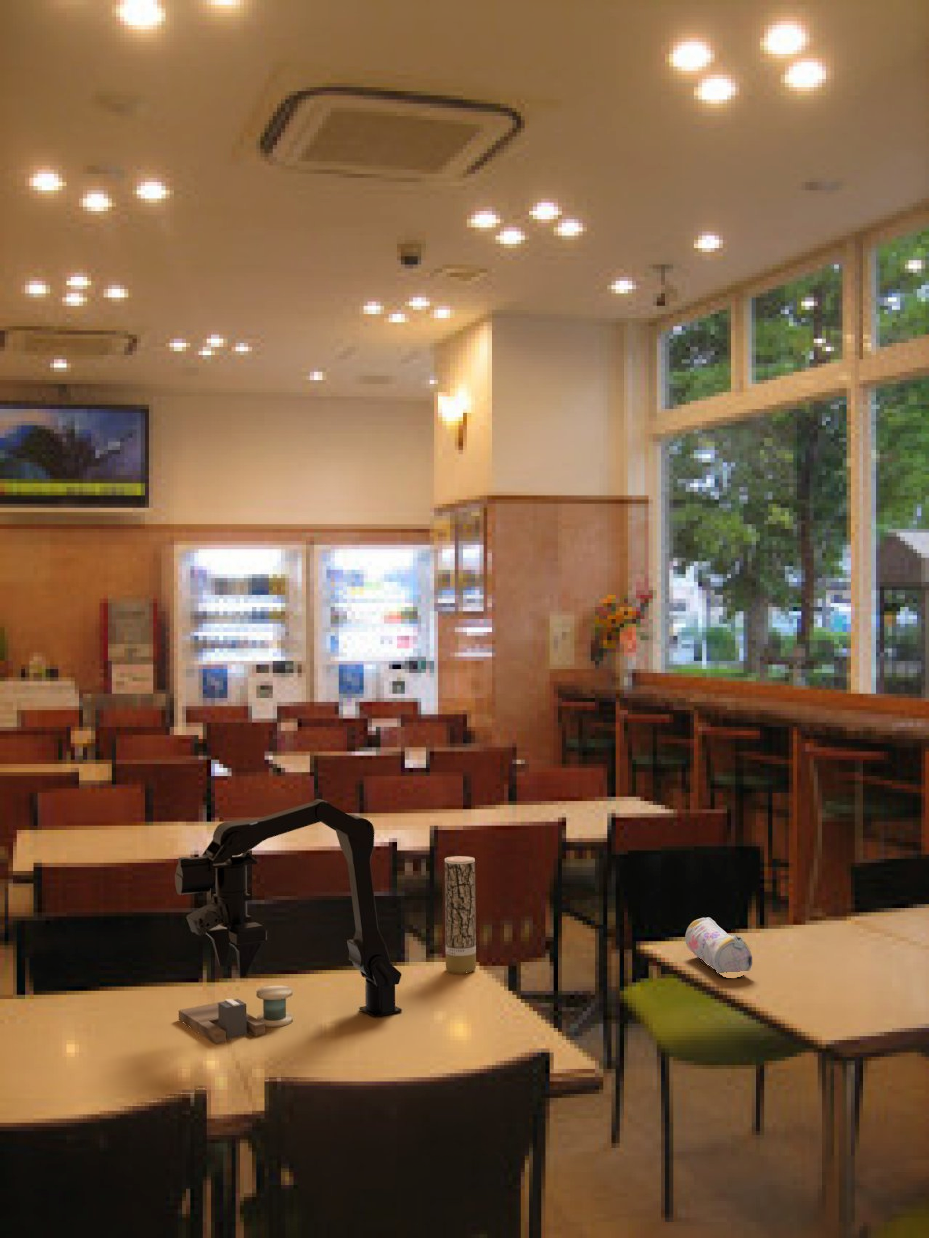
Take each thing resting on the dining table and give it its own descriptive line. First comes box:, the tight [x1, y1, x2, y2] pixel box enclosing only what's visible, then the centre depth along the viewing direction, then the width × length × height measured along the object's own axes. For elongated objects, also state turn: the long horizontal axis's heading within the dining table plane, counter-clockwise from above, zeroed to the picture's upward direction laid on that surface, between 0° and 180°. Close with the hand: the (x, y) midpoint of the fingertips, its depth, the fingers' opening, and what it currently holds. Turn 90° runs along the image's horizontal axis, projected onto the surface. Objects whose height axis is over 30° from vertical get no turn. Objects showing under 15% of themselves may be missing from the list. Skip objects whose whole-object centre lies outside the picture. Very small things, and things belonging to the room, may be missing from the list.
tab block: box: [217, 998, 248, 1040], centre depth 243 cm, size 4×4×6 cm
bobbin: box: [255, 985, 294, 1028], centre depth 251 cm, size 7×7×6 cm
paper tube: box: [444, 855, 477, 974], centre depth 286 cm, size 7×7×25 cm
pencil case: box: [684, 917, 753, 974], centre depth 286 cm, size 21×9×10 cm, turn 10°
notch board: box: [178, 1000, 266, 1045], centre depth 248 cm, size 18×10×2 cm, turn 35°
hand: (232, 971), depth 243 cm, fingers open, 9 cm apart
